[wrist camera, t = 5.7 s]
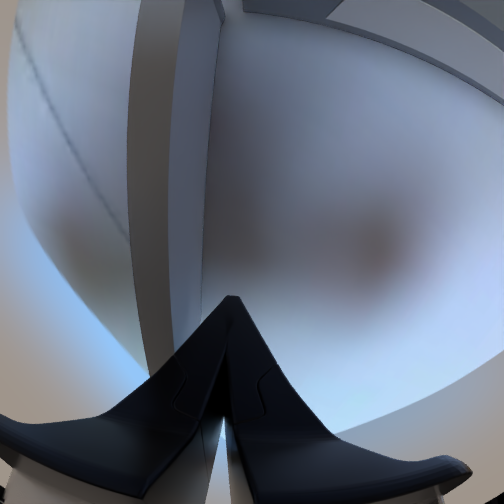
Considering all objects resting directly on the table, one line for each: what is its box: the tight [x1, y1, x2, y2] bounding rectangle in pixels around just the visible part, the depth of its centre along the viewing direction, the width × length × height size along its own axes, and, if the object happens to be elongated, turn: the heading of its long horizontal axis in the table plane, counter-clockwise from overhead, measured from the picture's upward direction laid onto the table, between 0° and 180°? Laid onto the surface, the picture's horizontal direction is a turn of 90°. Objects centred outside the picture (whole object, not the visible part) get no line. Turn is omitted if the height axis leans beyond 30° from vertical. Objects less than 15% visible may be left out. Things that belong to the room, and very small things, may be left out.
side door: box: [127, 0, 225, 377], centre depth 8 cm, size 14×1×6 cm, turn 174°
